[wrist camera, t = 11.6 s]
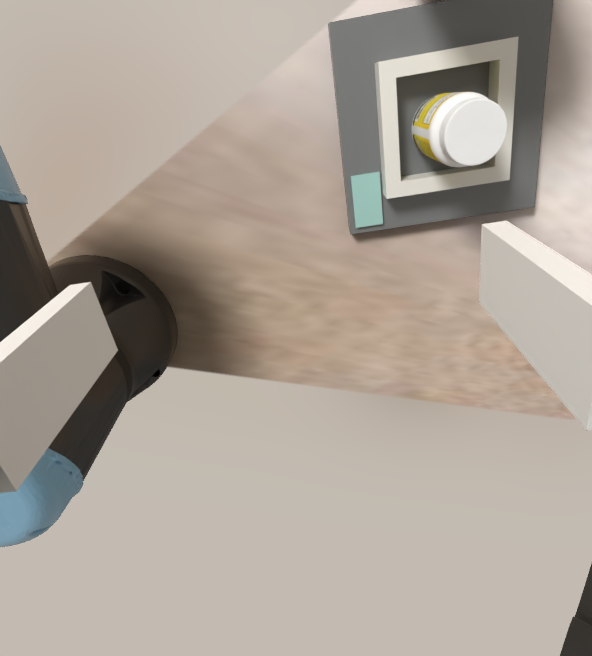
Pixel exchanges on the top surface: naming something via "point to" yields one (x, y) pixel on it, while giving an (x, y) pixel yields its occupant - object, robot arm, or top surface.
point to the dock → (424, 82)
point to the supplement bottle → (459, 128)
